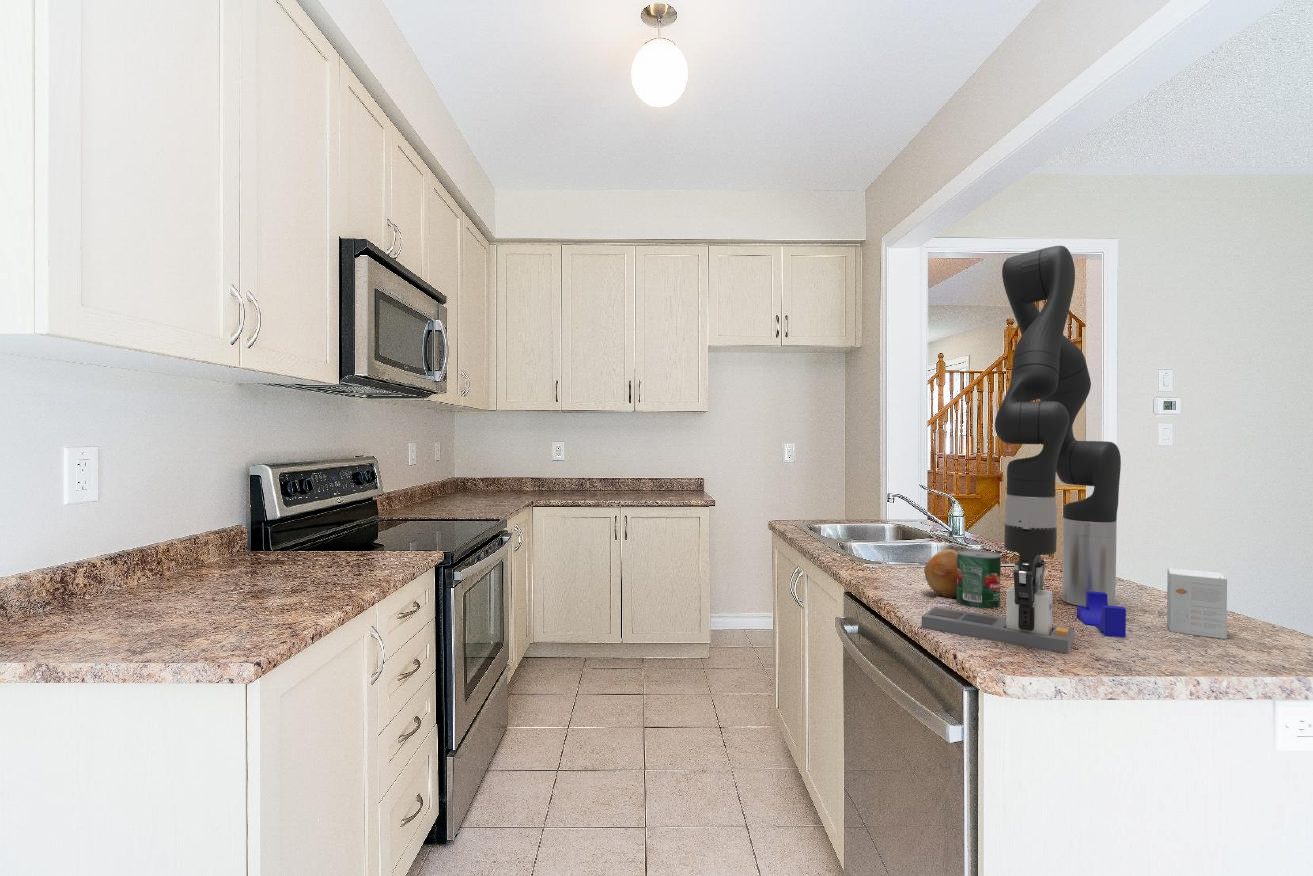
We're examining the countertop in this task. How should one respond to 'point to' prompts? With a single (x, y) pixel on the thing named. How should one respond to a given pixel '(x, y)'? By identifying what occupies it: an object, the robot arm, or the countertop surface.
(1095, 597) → the cable clip
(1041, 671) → the countertop surface
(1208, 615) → the small box
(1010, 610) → the block
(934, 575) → the onion
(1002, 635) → the power strip
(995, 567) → the canned tomato
